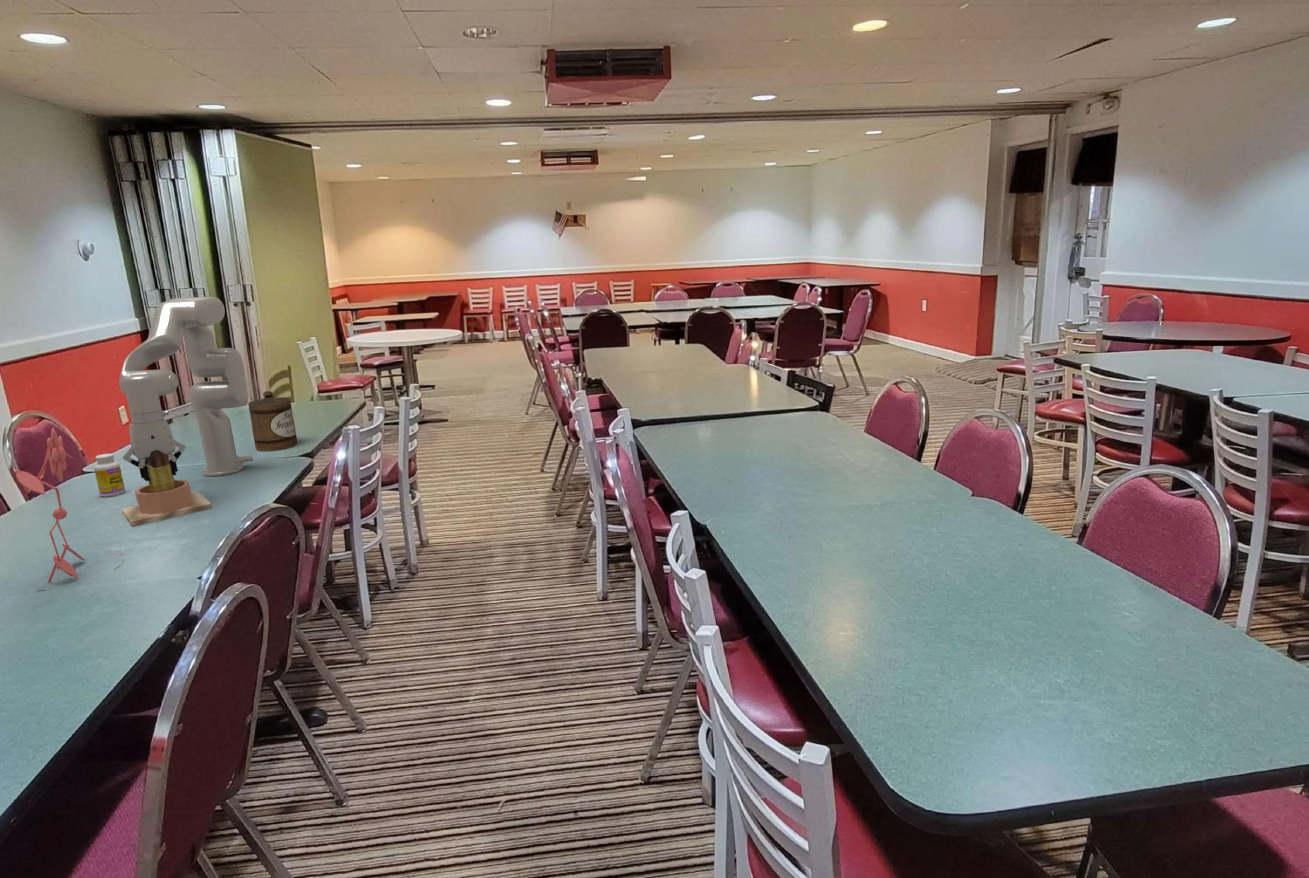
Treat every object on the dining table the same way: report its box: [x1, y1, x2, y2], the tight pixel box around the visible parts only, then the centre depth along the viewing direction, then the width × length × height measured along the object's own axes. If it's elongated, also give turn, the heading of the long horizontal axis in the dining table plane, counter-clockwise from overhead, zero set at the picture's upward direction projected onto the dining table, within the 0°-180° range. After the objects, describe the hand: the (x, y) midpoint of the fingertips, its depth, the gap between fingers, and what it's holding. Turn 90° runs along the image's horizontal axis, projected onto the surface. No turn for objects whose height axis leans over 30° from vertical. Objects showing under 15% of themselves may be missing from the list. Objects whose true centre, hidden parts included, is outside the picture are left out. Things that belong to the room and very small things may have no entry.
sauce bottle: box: [144, 435, 176, 493], centre depth 218 cm, size 7×6×20 cm
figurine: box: [14, 427, 125, 592], centre depth 177 cm, size 15×26×35 cm, turn 27°
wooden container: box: [248, 390, 298, 452], centre depth 289 cm, size 15×15×22 cm
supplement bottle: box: [93, 453, 126, 498], centre depth 238 cm, size 7×7×13 cm
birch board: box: [121, 491, 213, 528], centre depth 221 cm, size 20×16×2 cm
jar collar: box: [134, 479, 193, 514], centre depth 220 cm, size 13×13×6 cm
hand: (160, 476), depth 219 cm, fingers closed on sauce bottle, 6 cm apart
